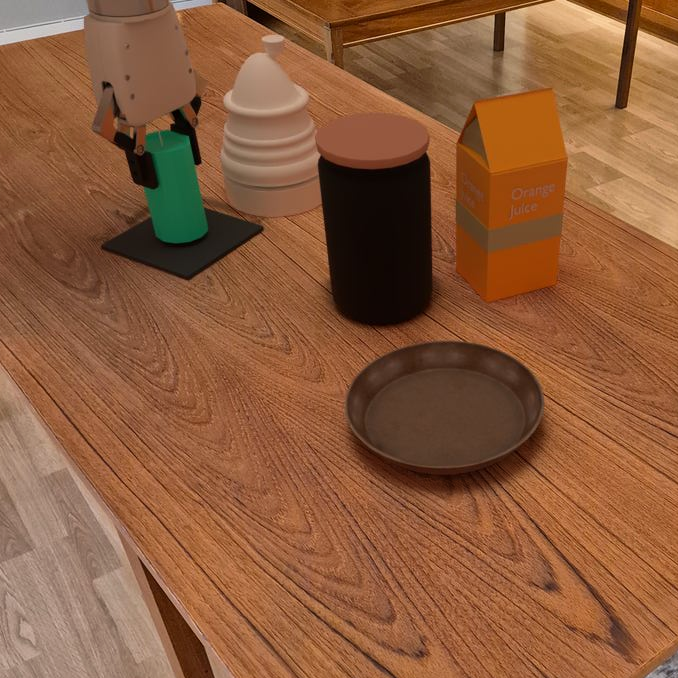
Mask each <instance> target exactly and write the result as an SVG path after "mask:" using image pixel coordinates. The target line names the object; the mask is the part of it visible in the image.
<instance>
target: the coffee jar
mask: <svg viewBox="0 0 678 678" xmlns="http://www.w3.org/2000/svg"><path fill="white" fill-rule="evenodd" d="M315 141H316V146H317V150H318V153H320V154H321V156H320V158H319V160H318V173H319V182H320V191H321V200H322V204H321V207H322V217H323V227H324V235H325V243H326V253H327V261H328V270H329V279H330V289H331V296H332V300H333V302H334V303H335V305H336V306H337V307H338V308H339V309H340V311H341V312H342V313H343V314H344V315H345V316H346V317H348V318H350V319H351V320H353V321H355V322H357V323H360V324H365V325H369V326H384V327H385V326H391V325H398V324H402V323H405V322H407V321H410V320H412V319H414V318H415V317H418V316H419V314H421V313H422V312H423V310H424V309H425V308H426V306H427V305H428V303H430V301H431V299H432V294H433V291H434V285H433V284H434V283H433V282H434V281H433V280H434V279H433V275H434V274H433V237H432V236H433V232H432V231H433V230H432V229H433V228H432V227H433V225H432V224H433V223H432V180H431V179H432V177H431V176H432V175H431V173H432V172H431V160H430V158H429V155H428V153H427V151H428V149H429V145H430V133H429V131H428V129H427V127H426V126H424V125H423V124H422V123H421V122H419V121H418V120H416V119H413V118H411V117H409V116H405V115H400V114H394V113H390V112H373V111H372V112H363V113H362V112H359V113H353V114H348V115H343V116H339V117H336V118H334V119H332V120H330V121H327V122H325V123H324V124H323V125H322V126H320V127H319V128H318V129H317V133H316V135H315Z"/></svg>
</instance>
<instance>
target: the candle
mask: <svg viewBox="0 0 678 678" xmlns="http://www.w3.org/2000/svg"><path fill="white" fill-rule="evenodd" d="M156 129H157V130H156V131H152V132H149V133H146V142H145V151H147V152H150V153H151V155H152V159H153V163H154V167H155V171H156V175H157V179H158V183H159V185H158V188H156V189H154V190H153V189H150V188H146V187H143V191H144V195H145V199H146V202H147V206H148V211H149V214H150V217H151V218H152V222H153V226H154V230H155V234H156V237H158V238H159V239H161V240H162V241H164V242H170V243H184V242H191V241H193V240H196V239H198V238H201V237H202V236H203V235H204V234H205V233H206V232H207V231H208V225H207V220H206V215H205V211H204V207H205V206H204V201H203V196H202V192H201V187H200V184H199V183H200V182H199V178H198V173H197V169H196V165H195V163H194V159H193V154H192V149H191V144H190V140H189V136H186V135H183V134H179V133H176V132H174V131H171V130H170V129H163V130H162V129H161V130H160V127H159V126H157V127H156Z"/></svg>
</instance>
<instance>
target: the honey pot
mask: <svg viewBox="0 0 678 678" xmlns="http://www.w3.org/2000/svg"><path fill="white" fill-rule="evenodd" d="M261 43H262V47H263V49H264V50H265V52H255V53H253V54H251V55H250V56H248V57H247V59H245V61H244V62H243V63H242V64H241V67H240V69H239V70H238V73H237V75H236V78H235V81H234V85H233V87H232V89H230V90H229V91H227V92H226V94H224V96H223V99H222V105H223V107H224V109H225V110H226V111H227V115H226V116H227V117H226V122H225V123H224V125H223V136H222V147H221V149H220V155H219V156H220V157H219V163H220V164H221V170H222V178H223V184H224V189H225V195H226V199H227V201H228V203H229V204H230V206H231V207H233V208H234V209H235V210H237V211H239V212H241V213H244V214H247V215H252V216H256V217H264V218H278V217H279V218H280V217H290V216H294V215H300V214H303V213H306V212H309V211H312V210H314V209H316V208H317V207H319V206H322V200H321V191H320V182H319V173H318V160H319V158H320V156H321V154H320V153H318V150H317V146H316V141H315V135H316V133H317V131H318V129H316V126H315V120H314V119H313V118H312V116H311V115H310V113H309V111H308V109H307V106H308V104H309V103H310V95H309V93H308V91H307V90H306V88H303V87H302V86H300V85H298V84H295V83H293V81H292V80H291V78H290V77H289V75H288V74H287V72H286V71H285V69H283V67H282V66H281V65H280V64H279V63H278V61H276V60H275V59H276V58H278V57H280V56H281V55H282V54H283V52H284V50H285V45H286V39H285V36H284V35H280V34H268V35H264V36H263V37H261Z"/></svg>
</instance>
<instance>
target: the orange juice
mask: <svg viewBox="0 0 678 678" xmlns="http://www.w3.org/2000/svg"><path fill="white" fill-rule="evenodd" d="M554 95H555V94H554V90H553V87H547V88H540V89H536V90H530V91H525V92H524V91H523V92H519V93H513V94H508V95H501V96H497V97H491V98H485V99H484V98H483V99H480V100H474V102H473V104H472V106H471V108H470V111H469V113H468V116H467V117H466V120H465V123H464V125H463V128H462V130H461V132H460V133H459V137H458V138H457V141H456V145H455V149H456V150H455V152H456V154H455V192H456V193H455V271H457V273H458V274H459V275H460V276H461V277H462V278H463V279H464V280H465V281H466V283H467V284H469V286H470V287H471V288H472V289H473V290H474V291H475V293H477V295H478V296H479V297H480V298H481V299H482V300H483V302H485V303H486V304H488V303H493V302H496V301H500V300H503V299H508V298H511V297H515V296H518V295H523V294H526V293H529V292H534V291H537V290H540V289H546V288H548V287H552V286H556V285H557V280H558V268H559V258H560V247H561V237H562V233H563V222H564V221H563V220H564V205H565V204H564V203H565V193H566V184H567V183H566V182H567V174H568V173H567V172H568V161H569V156H567V154H568V153H567V150H566V144H565V140H564V135H563V131H562V127H561V121H560V118H559V117H560V116H559V113H558V107H557V103H556V98H555V96H554Z"/></svg>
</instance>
